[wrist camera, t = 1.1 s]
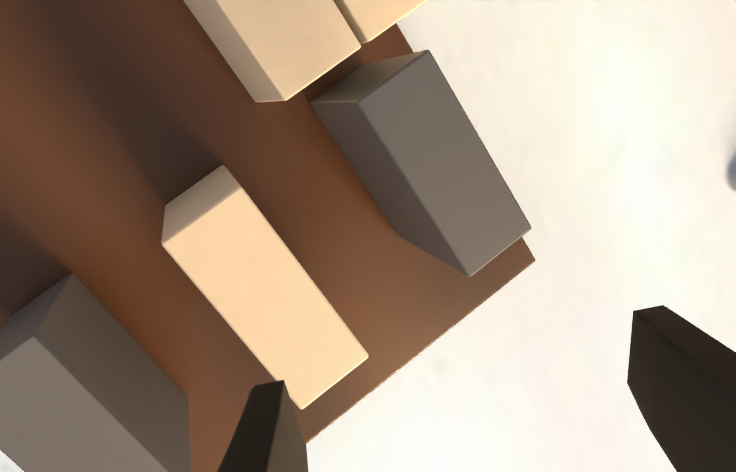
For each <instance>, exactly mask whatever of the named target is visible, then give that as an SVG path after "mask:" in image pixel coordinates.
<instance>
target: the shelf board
mask: <svg viewBox="0 0 736 472" xmlns="http://www.w3.org/2000/svg"><path fill="white" fill-rule="evenodd" d="M360 45H361V48H360V49H358V50H357V51H356V52H354V53H353V54H351V55H350V56H349V57H347V58H346V59H344V60H343V61H342V62H340V63H339V64H337V65H336V66H335V67H333V68H332V69H330V70H329V71H327V72H326V73H325V74H323V75H322V76H320V77H319V78H318V79H316V80H315V81H313V82H312V83H311V84H309V85H308V86H306V87H305V88H304V89H302V90H301V91H299V92H298V93H297V94H295V95H294V96H292V97H291V98H290V99H288V100H286V101H271V102H255V101H254V100H253V98H252V97H251V95H250V94H249V93H248V91H247V90H246V88H245V87H244V85H243V84H242V83H241V81H240V80H239V78H238V77H237V76H236V74H235V73H234V71H233V70H232V68H231V67H230V66H229V64H228V63H227V61H226V60H225V59H224V57H223V56H222V54H221V53H220V51H219V50H218V49H217V47H216V46H215V44H214V43H213V42H212V40H211V39H210V37H209V36H208V35H207V33H206V32H205V30H204V29H203V27H202V26H201V25H200V23H199V22H198V20H197V19H196V18H195V16H194V15H193V13H192V12H191V10H190V9H189V8H188V6H187V5H186V3H185V2H184V1H183V0H0V329H1V327H2V326H3V325H4V324H5V322H6V321H7V320H8V319H9V317H10V316H11V315H13V314H14V313H16V312H17V311H18V310H20V309H21V308H23V307H24V306H25V305H27V304H28V303H30V302H31V301H32V300H34V299H35V298H37V297H38V296H39V295H41V294H42V293H44V292H45V291H46V290H48V289H49V288H51V287H52V286H53V285H55V284H56V283H57V282H59V281H60V280H62V279H63V278H64V277H66V276H67V275H69V274H70V273H74V274H75V275H76V276H77V278H78V279H79V280H80V281H81V282H82V283H83V284H84V285H85V286H86V287H87V288H88V289H89V291H90V292H91V293H92V294H93V295H94V296H95V297H96V298H97V299H98V300H99V301H100V303H101V304H102V305H103V306H104V307H105V308H106V309H107V310H108V311H109V312H110V313H111V314H112V316H113V317H114V318H115V319H116V320H117V321H118V322H119V323H120V324H121V325H122V326H123V327H124V329H125V330H126V331H127V332H128V333H129V334H130V335H131V336H132V337H133V338H134V339H135V340H136V342H137V343H138V344H139V345H140V346H141V347H142V348H143V349H144V350H145V351H146V352H147V353H148V355H149V356H150V357H151V358H152V359H153V360H154V361H155V362H156V363H157V364H158V365H159V366H160V368H161V369H162V370H163V371H164V372H165V373H166V374H167V375H168V376H169V377H170V378H171V379H172V381H173V382H174V383H175V384H176V385H177V386H178V387H179V388H180V389H181V390H182V391H183V392H184V394H185V395H186V396H187V397H188V399H189V422H190V445H191V469H192V472H217V470H218V468H219V466H220V464H221V462H222V460H223V457H224V455H225V453H226V451H227V449H228V446H229V444H230V442H231V439H232V437H233V435H234V432H235V430H236V428H237V425H238V423H239V420H240V418H241V415H242V412H243V410H244V407H245V404H246V402H247V399H248V396H249V393H250V390H251V389H252V388H253V387H254V385H259V384H264V383H269V382H274V381H276V380H275V379H274V378H273V377H272V375H271V374H270V373H269V372H268V371H267V369H266V368H265V367H264V366H263V365H262V363H261V362H260V361H259V360H258V359H257V358H256V356H255V355H254V354H253V353H252V352H251V350H250V349H249V348H248V347H247V346H246V344H245V343H244V342H243V341H242V340H241V339H240V337H239V336H238V335H237V334H236V333H235V331H234V330H233V329H232V328H231V327H230V326H229V324H228V323H227V322H226V321H225V320H224V318H223V317H222V316H221V315H220V314H219V312H218V311H217V310H216V309H215V308H214V307H213V305H212V304H211V303H210V302H209V301H208V299H207V298H206V297H205V296H204V295H203V293H202V292H201V291H200V290H199V289H198V288H197V286H196V285H195V284H194V283H193V282H192V280H191V279H190V278H189V277H188V276H187V274H186V273H185V272H184V271H183V270H182V269H181V267H180V266H179V265H178V264H177V263H176V261H175V260H174V259H173V258H172V257H171V255H170V254H169V253H168V252H167V251H166V250H165V248H164V247H163V246H162V244H161V241H162V231H163V222H164V213H165V206H166V205H167V204H168V203H169V202H171V201H172V200H174V199H175V198H176V197H178V196H179V195H181V194H182V193H183V192H185V191H186V190H188V189H189V188H190V187H192V186H193V185H195V184H196V183H197V182H199V181H200V180H202V179H203V178H204V177H206V176H207V175H209V174H210V173H211V172H213V171H214V170H216V169H217V168H218V167H220V166H221V165H224V166H225V167H226V168H227V169H228V171H229V172H230V173H231V174H232V176H233V177H234V178H235V179H236V180H237V182H238V183H239V184H240V185H241V187H242V188H243V189H244V190H245V192H246V193H247V194H248V196H249V197H250V198H251V200H252V201H253V202H254V204H255V205H256V206H257V208H258V209H259V210H260V212H261V213H262V214H263V216H264V217H265V218H266V220H267V221H268V222H269V224H270V225H271V226H272V228H273V229H274V230H275V231H276V233H277V234H278V235H279V237H280V238H281V239H282V241H283V242H284V243H285V245H286V246H287V247H288V249H289V250H290V251H291V253H292V254H293V255H294V257H295V258H296V259H297V261H298V262H299V263H300V265H301V266H302V267H303V269H304V270H305V271H306V272H307V274H308V275H309V276H310V278H311V279H312V280H313V282H314V283H315V284H316V286H317V287H318V288H319V290H320V291H321V292H322V294H323V295H324V296H325V298H326V299H327V300H328V302H329V303H330V304H331V306H332V307H333V308H334V309H335V311H336V312H337V313H338V315H339V316H340V317H341V319H342V320H343V321H344V323H345V324H346V325H347V327H348V328H349V329H350V331H351V332H352V333H353V335H354V336H355V337H356V339H357V340H358V341H359V343H360V344H361V345H362V347H363V348H364V349H365V350H366V352H367V353H368V358H367V359H366V360H365V361H363V362H362V363H361V364H360V365H358V366H357V367H356V368H354V369H353V370H352V371H351V372H349V373H348V374H347V375H346V376H344V377H343V378H342V379H341V380H339V381H338V382H337V383H335V384H334V385H333V386H332V387H330V388H329V389H328V390H327V391H325V392H324V393H323V394H322V395H320V396H319V397H318V398H316V399H315V400H314V401H313V402H311V403H310V404H309V405H308V406H306V407H305V408H304V409H300V408H299V407H298V406H297V405H296V404H295V403H294V401H293V400H292V399H291V398H290V399H291V402H292V405H293V408H294V411H295V414H296V417H297V420H298V423H299V426H300V429H301V432H302V435H303V438H304V441H305V444H307V443H308V442H309V441H310V440H312V439H313V438H314V437H315V436H317V435H318V434H319V433H320V432H322V431H323V430H324V429H325V428H327V427H328V426H329V425H330V424H332V423H333V422H334V421H335V420H337V419H338V418H339V417H340V416H342V415H343V414H344V413H345V412H347V411H348V410H349V409H350V408H352V407H353V406H354V405H355V404H357V403H358V402H359V401H360V400H362V399H363V398H364V397H365V396H367V395H368V394H369V393H370V392H372V391H373V390H374V389H375V388H377V387H378V386H379V385H380V384H382V383H383V382H384V381H386V380H387V379H388V378H389V377H391V376H392V375H393V374H394V373H396V372H397V371H398V370H399V369H401V368H402V367H403V366H404V365H406V364H407V363H408V362H409V361H411V360H412V359H413V358H414V357H416V356H417V355H418V354H419V353H421V352H422V351H423V350H424V349H426V348H427V347H428V346H429V345H431V344H432V343H433V342H434V341H436V340H437V339H438V338H439V337H441V336H442V335H443V334H444V333H446V332H447V331H448V330H449V329H451V328H452V327H453V326H454V325H456V324H457V323H458V322H459V321H461V320H462V319H463V318H464V317H466V316H467V315H468V314H469V313H471V312H472V311H473V310H474V309H476V308H477V307H478V306H479V305H481V304H482V303H483V302H484V301H486V300H487V299H488V298H489V297H491V296H492V295H493V294H494V293H496V292H497V291H498V290H499V289H501V288H502V287H503V286H504V285H506V284H507V283H508V282H509V281H511V280H512V279H513V278H514V277H516V276H517V275H518V274H520V273H521V272H522V271H523V270H525V269H526V268H527V267H528V266H530V265H531V264H532V263H533V262H535V258H534V257H533V255H532V253H531V251H530V250H529V248H528V246H527V245H526V243H525V241H524V240H523V238H522V237H520V238H519V239H518V240H517V241H515V242H514V243H513V244H512V245H510V246H509V247H508V248H507V249H505V250H504V251H503V252H501V253H500V254H499V255H498V256H496V257H495V258H494V259H493V260H491V261H490V262H489V263H488V264H486V265H485V266H484V267H482V268H481V269H480V270H479V271H477V272H476V273H475V274H474V275H472V276H470V277H468V276H467V275H465V274H463V273H462V272H460V271H458V270H456V269H455V268H453V267H451V266H449V265H448V264H446V263H444V262H443V261H441V260H439V259H437V258H436V257H434V256H432V255H431V254H429V253H427V252H425V251H424V250H422V249H420V248H419V247H417V246H415V245H413V244H412V243H410V242H408V241H406V240H405V239H403V238H401V237H400V236H398V234H397V233H396V231H395V230H394V228H393V227H392V225H391V224H390V222H389V221H388V219H387V218H386V216H385V215H384V213H383V212H382V210H381V209H380V207H379V206H378V205H377V203H376V202H375V200H374V199H373V197H372V196H371V194H370V193H369V191H368V190H367V188H366V187H365V185H364V184H363V182H362V181H361V179H360V178H359V176H358V175H357V173H356V172H355V170H354V169H353V167H352V166H351V164H350V163H349V161H348V160H347V158H346V157H345V156H344V154H343V153H342V151H341V150H340V148H339V147H338V145H337V144H336V142H335V141H334V139H333V138H332V136H331V135H330V133H329V132H328V130H327V129H326V127H325V126H324V124H323V123H322V121H321V120H320V118H319V117H318V115H317V114H316V112H315V111H314V109H313V108H312V106H311V105H310V102H311V101H312V100H313V99H315V98H316V97H318V96H319V95H320V94H322V93H323V92H324V91H326V90H327V89H329V88H330V87H331V86H333V85H334V84H336V83H337V82H338V81H340V80H341V79H343V78H344V77H345V76H347V75H348V74H350V73H351V72H352V71H354V70H355V69H357V68H358V67H359V66H361V65H362V64H367V63H371V62H376V61H380V60H385V59H389V58H393V57H398V56H402V55H407V54H411V53H413V51H412V49H411V47H410V46H409V44H408V42H407V41H406V39H405V37H404V36H403V34H402V32H401V30H400V29H399V27H398V25H397V24H396V23H395V24H394V25H392V26H391V27H389V28H388V29H387V30H385V31H384V32H382V33H381V34H379V35H378V36H377V37H375V38H374V39H372V40H371V41H369V42H366V43H363V44H360Z"/></svg>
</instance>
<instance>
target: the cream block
mask: <svg viewBox="0 0 736 472" xmlns="http://www.w3.org/2000/svg"><path fill="white" fill-rule="evenodd" d="M183 1H184V2H185V3H186V5H187V6H188V8H189V9H190V10H191V12H192V13H193V15H194V16H195V18H196V19H197V20H198V22H199V23H200V25H201V26H202V27H203V29H204V30H205V32H206V33H207V35H208V36H209V37H210V39H211V40H212V42H213V43H214V44H215V46H216V47H217V49H218V50H219V51H220V53H221V54H222V56H223V57H224V59H225V60H226V61H227V63H228V64H229V66H230V67H231V68H232V70H233V71H234V73H235V74H236V76H237V77H238V78H239V80H240V81H241V83H242V84H243V85H244V87H245V88H246V90H247V91H248V93H249V94H250V95H251V97H252V98H253V100H254V101H255V102H271V101H286V100H288V99H290V98H291V97H292V96H294V95H295V94H297V93H298V92H299V91H301V90H302V89H304V88H305V87H306V86H308V85H309V84H311V83H312V82H313V81H315V80H316V79H318V78H319V77H320V76H322V75H323V74H325V73H326V72H327V71H329V70H330V69H332V68H333V67H335V66H336V65H337V64H339V63H340V62H342V61H343V60H344V59H346V58H347V57H349V56H350V55H351V54H353V53H354V52H356V51H357V50H358V49H360V48H361V45H360V44H363V43H366V42H369V41H371V40H372V39H374V38H375V37H377V36H378V35H379V34H381V33H382V32H384V31H385V30H387V29H388V28H389V27H391V26H392V25H394V24H395V23H396V22H398V21H399V20H401V19H402V18H403V17H405V16H406V15H408V14H409V13H410V12H412V11H413V10H415V9H416V8H417V7H419V6H420V5H422V4H423V3H424V2H426V1H427V0H183Z"/></svg>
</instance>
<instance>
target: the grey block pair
mask: <svg viewBox="0 0 736 472" xmlns="http://www.w3.org/2000/svg"><path fill="white" fill-rule="evenodd" d="M310 105H311V106H312V108H313V109H314V111H315V112H316V114H317V115H318V117H319V118H320V120H321V121H322V123H323V124H324V126H325V127H326V129H327V130H328V132H329V133H330V135H331V136H332V138H333V139H334V141H335V142H336V144H337V145H338V147H339V148H340V150H341V151H342V153H343V154H344V156H345V157H346V158H347V160H348V161H349V163H350V164H351V166H352V167H353V169H354V170H355V172H356V173H357V175H358V176H359V178H360V179H361V181H362V182H363V184H364V185H365V187H366V188H367V190H368V191H369V193H370V194H371V196H372V197H373V199H374V200H375V202H376V203H377V205H378V206H379V207H380V209H381V210H382V212H383V213H384V215H385V216H386V218H387V219H388V221H389V222H390V224H391V225H392V227H393V228H394V230H395V231H396V233H397V234H398V236H400V237H401V238H403V239H405V240H406V241H408V242H410V243H412V244H413V245H415V246H417V247H419V248H420V249H422V250H424V251H425V252H427V253H429V254H431V255H432V256H434V257H436V258H437V259H439V260H441V261H443V262H444V263H446V264H448V265H449V266H451V267H453V268H455V269H456V270H458V271H460V272H462V273H463V274H465V275H467V276H468V277H470V276H472V275H474V274H475V273H476V272H477V271H479V270H480V269H481V268H482V267H484V266H485V265H486V264H488V263H489V262H490V261H491V260H493V259H494V258H495V257H496V256H498V255H499V254H500V253H501V252H503V251H504V250H505V249H507V248H508V247H509V246H510V245H512V244H513V243H514V242H515V241H517V240H518V239H519V238H520V237H522V236H523V235H524V234H526V233H527V232H528V231H529V230H530V229H531V226H530V224H529V222H528V220H527V219H526V217H525V215H524V213H523V212H522V210H521V208H520V206H519V205H518V203H517V201H516V200H515V198H514V196H513V194H512V193H511V191H510V189H509V187H508V186H507V184H506V182H505V181H504V179H503V177H502V175H501V174H500V172H499V170H498V168H497V167H496V165H495V163H494V161H493V160H492V158H491V156H490V155H489V153H488V151H487V149H486V148H485V146H484V144H483V142H482V141H481V139H480V137H479V136H478V134H477V132H476V130H475V129H474V127H473V125H472V123H471V122H470V120H469V118H468V116H467V115H466V113H465V111H464V110H463V108H462V106H461V104H460V103H459V101H458V99H457V97H456V96H455V94H454V92H453V91H452V89H451V87H450V85H449V84H448V82H447V80H446V78H445V77H444V75H443V73H442V71H441V70H440V68H439V66H438V65H437V63H436V61H435V59H434V58H433V56H432V54H431V52H430V51H429V50H424V51H420V52H415V53H411V54H407V55H402V56H398V57H393V58H389V59H385V60H380V61H376V62H371V63H367V64H362V65H361V66H359V67H358V68H357V69H355V70H354V71H352V72H351V73H350V74H348V75H347V76H345V77H344V78H343V79H341V80H340V81H338V82H337V83H336V84H334V85H333V86H331V87H330V88H329V89H327V90H326V91H324V92H323V93H322V94H320V95H319V96H318V97H316V98H315V99H313V100H312V101H311V102H310ZM0 450H1V451H2V452H3V453H5V454H6V455H7V456H8V457H9V458H10V459H11V460H12V461H13V462H15V463H16V464H17V465H18V466H19V467H20V468H21V469H22V470H23V471H25V472H192V469H191V445H190V422H189V399H188V397H187V396H186V395H185V394H184V392H183V391H182V390H181V389H180V388H179V387H178V386H177V385H176V384H175V383H174V382H173V381H172V379H171V378H170V377H169V376H168V375H167V374H166V373H165V372H164V371H163V370H162V369H161V368H160V366H159V365H158V364H157V363H156V362H155V361H154V360H153V359H152V358H151V357H150V356H149V355H148V353H147V352H146V351H145V350H144V349H143V348H142V347H141V346H140V345H139V344H138V343H137V342H136V340H135V339H134V338H133V337H132V336H131V335H130V334H129V333H128V332H127V331H126V330H125V329H124V327H123V326H122V325H121V324H120V323H119V322H118V321H117V320H116V319H115V318H114V317H113V316H112V314H111V313H110V312H109V311H108V310H107V309H106V308H105V307H104V306H103V305H102V304H101V303H100V301H99V300H98V299H97V298H96V297H95V296H94V295H93V294H92V293H91V292H90V291H89V289H88V288H87V287H86V286H85V285H84V284H83V283H82V282H81V281H80V280H79V279H78V278H77V276H76V275H75V274H74V273H70V274H69V275H67V276H66V277H64V278H63V279H62V280H60V281H59V282H57V283H56V284H55V285H53V286H52V287H51V288H49V289H48V290H46V291H45V292H44V293H42V294H41V295H39V296H38V297H37V298H35V299H34V300H32V301H31V302H30V303H28V304H27V305H25V306H24V307H23V308H21V309H20V310H18V311H17V312H16V313H14V314H13V315H11V316H10V317H9V319H8V320H7V321H6V322H5V324H4V325H3V326H2V327H1V329H0Z"/></svg>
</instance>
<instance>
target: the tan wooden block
mask: <svg viewBox="0 0 736 472" xmlns="http://www.w3.org/2000/svg"><path fill="white" fill-rule="evenodd" d="M161 244H162V246H163V247H164V248H165V250H166V251H167V252H168V253H169V254H170V255H171V257H172V258H173V259H174V260H175V261H176V263H177V264H178V265H179V266H180V267H181V269H182V270H183V271H184V272H185V273H186V274H187V276H188V277H189V278H190V279H191V280H192V282H193V283H194V284H195V285H196V286H197V288H198V289H199V290H200V291H201V292H202V293H203V295H204V296H205V297H206V298H207V299H208V301H209V302H210V303H211V304H212V305H213V307H214V308H215V309H216V310H217V311H218V312H219V314H220V315H221V316H222V317H223V318H224V320H225V321H226V322H227V323H228V324H229V326H230V327H231V328H232V329H233V330H234V331H235V333H236V334H237V335H238V336H239V337H240V339H241V340H242V341H243V342H244V343H245V344H246V346H247V347H248V348H249V349H250V350H251V352H252V353H253V354H254V355H255V356H256V358H257V359H258V360H259V361H260V362H261V363H262V365H263V366H264V367H265V368H266V369H267V371H268V372H269V373H270V374H271V375H272V377H273V378H274V379H275V380H276V381H279V380H284V381H285V384H286V387H287V390H288V393H289V396H290V398H291V399H292V400H293V401H294V403H295V404H296V405H297V406H298V407H299V408H300V409H304V408H305V407H306V406H308V405H309V404H310V403H311V402H313V401H314V400H315V399H316V398H318V397H319V396H320V395H322V394H323V393H324V392H325V391H327V390H328V389H329V388H330V387H332V386H333V385H334V384H335V383H337V382H338V381H339V380H341V379H342V378H343V377H344V376H346V375H347V374H348V373H349V372H351V371H352V370H353V369H354V368H356V367H357V366H358V365H360V364H361V363H362V362H363V361H365V360H366V359H367V358H368V353H367V352H366V350H365V349H364V348H363V347H362V345H361V344H360V343H359V341H358V340H357V339H356V337H355V336H354V335H353V333H352V332H351V331H350V329H349V328H348V327H347V325H346V324H345V323H344V321H343V320H342V319H341V317H340V316H339V315H338V313H337V312H336V311H335V309H334V308H333V307H332V306H331V304H330V303H329V302H328V300H327V299H326V298H325V296H324V295H323V294H322V292H321V291H320V290H319V288H318V287H317V286H316V284H315V283H314V282H313V280H312V279H311V278H310V276H309V275H308V274H307V272H306V271H305V270H304V269H303V267H302V266H301V265H300V263H299V262H298V261H297V259H296V258H295V257H294V255H293V254H292V253H291V251H290V250H289V249H288V247H287V246H286V245H285V243H284V242H283V241H282V239H281V238H280V237H279V235H278V234H277V233H276V231H275V230H274V229H273V228H272V226H271V225H270V224H269V222H268V221H267V220H266V218H265V217H264V216H263V214H262V213H261V212H260V210H259V209H258V208H257V206H256V205H255V204H254V202H253V201H252V200H251V198H250V197H249V196H248V194H247V193H246V192H245V190H244V189H243V188H242V187H241V185H240V184H239V183H238V182H237V180H236V179H235V178H234V177H233V176H232V174H231V173H230V172H229V171H228V169H227V168H226V167H225V166H224V165H221V166H220V167H218V168H217V169H216V170H214V171H213V172H211V173H210V174H209V175H207V176H206V177H204V178H203V179H202V180H200V181H199V182H197V183H196V184H195V185H193V186H192V187H190V188H189V189H188V190H186V191H185V192H183V193H182V194H181V195H179V196H178V197H176V198H175V199H174V200H172V201H171V202H169V203H168V204H167V205H166V206H165V213H164V222H163V231H162V241H161Z"/></svg>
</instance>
